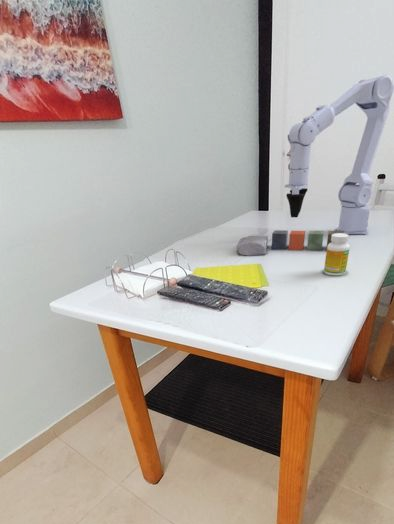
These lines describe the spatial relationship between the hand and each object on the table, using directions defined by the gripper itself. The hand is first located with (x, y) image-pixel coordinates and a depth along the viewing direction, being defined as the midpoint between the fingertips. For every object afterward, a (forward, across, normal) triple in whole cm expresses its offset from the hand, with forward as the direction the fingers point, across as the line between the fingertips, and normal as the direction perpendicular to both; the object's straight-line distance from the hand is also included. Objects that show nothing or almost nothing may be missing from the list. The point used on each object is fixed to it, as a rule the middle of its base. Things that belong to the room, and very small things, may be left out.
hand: (295, 214), depth 112 cm
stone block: (+9, +11, -12) cm, 19 cm away
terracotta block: (+9, +8, +2) cm, 12 cm away
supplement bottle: (+9, +30, +14) cm, 34 cm away
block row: (+9, +8, +5) cm, 13 cm away
